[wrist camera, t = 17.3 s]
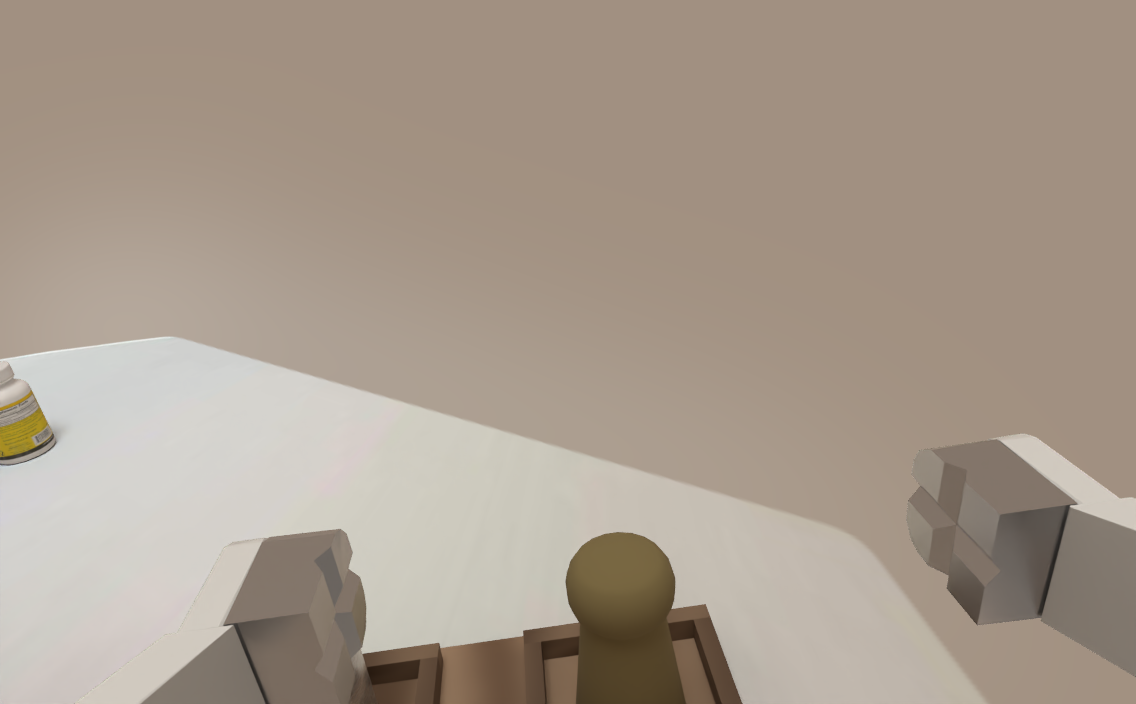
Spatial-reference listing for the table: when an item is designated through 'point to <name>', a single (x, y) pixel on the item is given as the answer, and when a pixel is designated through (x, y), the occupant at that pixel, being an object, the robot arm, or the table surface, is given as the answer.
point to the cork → (624, 622)
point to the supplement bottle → (20, 421)
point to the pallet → (539, 667)
